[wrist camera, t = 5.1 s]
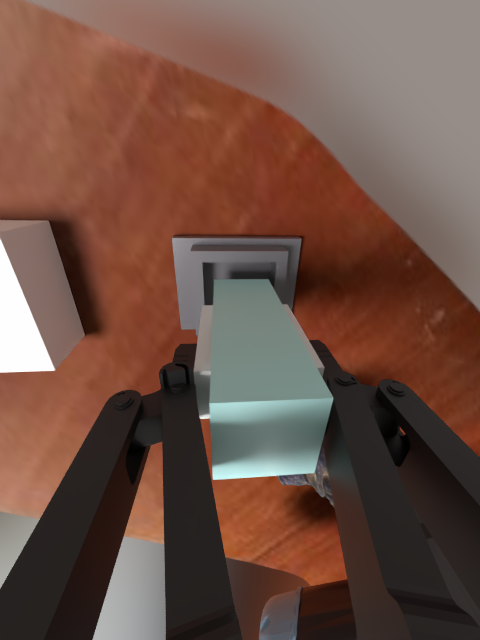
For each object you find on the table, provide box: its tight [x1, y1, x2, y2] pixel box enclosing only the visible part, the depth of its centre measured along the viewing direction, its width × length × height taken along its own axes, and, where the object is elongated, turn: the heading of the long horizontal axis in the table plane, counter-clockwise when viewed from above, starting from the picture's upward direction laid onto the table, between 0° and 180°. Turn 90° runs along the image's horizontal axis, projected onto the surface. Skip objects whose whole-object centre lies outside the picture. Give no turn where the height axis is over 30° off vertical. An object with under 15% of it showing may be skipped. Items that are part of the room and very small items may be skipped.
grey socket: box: [172, 236, 302, 336], centre depth 21 cm, size 10×8×3 cm
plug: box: [209, 279, 333, 480], centre depth 14 cm, size 4×4×12 cm
